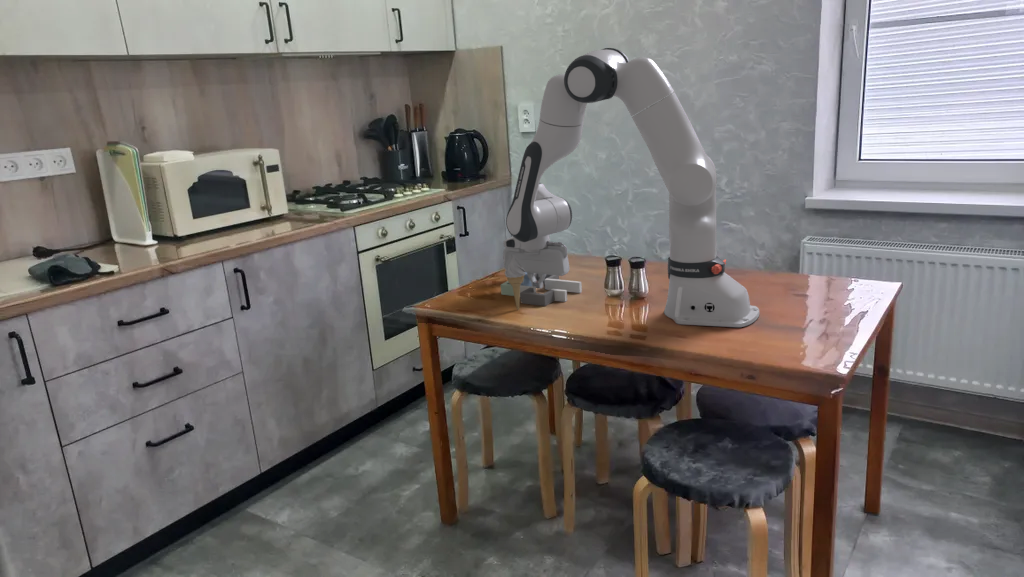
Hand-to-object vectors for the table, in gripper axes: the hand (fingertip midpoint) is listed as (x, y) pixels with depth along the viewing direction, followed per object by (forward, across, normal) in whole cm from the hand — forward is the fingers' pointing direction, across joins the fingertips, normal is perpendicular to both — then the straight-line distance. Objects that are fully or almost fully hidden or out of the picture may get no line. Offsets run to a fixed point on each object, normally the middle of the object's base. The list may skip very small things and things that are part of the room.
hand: (537, 287), depth 201 cm
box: (+2, -2, 0) cm, 2 cm away
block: (+1, +6, 0) cm, 6 cm away
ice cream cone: (+2, -3, +15) cm, 15 cm away
